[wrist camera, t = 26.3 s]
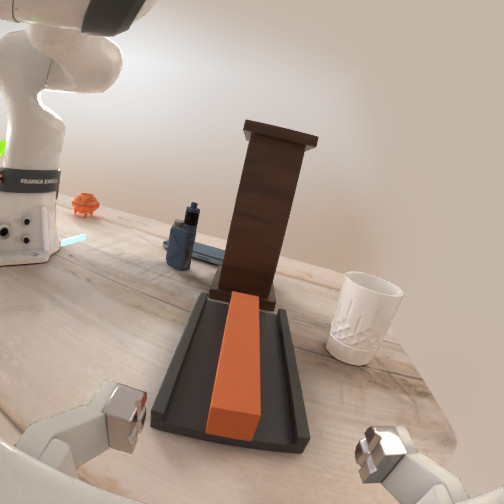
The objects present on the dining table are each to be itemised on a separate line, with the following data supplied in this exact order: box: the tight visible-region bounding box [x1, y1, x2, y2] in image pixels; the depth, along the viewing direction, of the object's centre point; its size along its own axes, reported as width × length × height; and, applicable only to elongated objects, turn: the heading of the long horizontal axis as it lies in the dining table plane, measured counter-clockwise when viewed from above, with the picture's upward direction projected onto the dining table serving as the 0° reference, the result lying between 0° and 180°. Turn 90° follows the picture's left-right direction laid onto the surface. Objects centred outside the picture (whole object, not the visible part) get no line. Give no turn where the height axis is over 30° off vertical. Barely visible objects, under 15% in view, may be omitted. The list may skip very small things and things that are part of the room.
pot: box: [72, 193, 99, 218], centre depth 75 cm, size 8×8×7 cm
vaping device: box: [166, 202, 200, 270], centre depth 55 cm, size 3×5×12 cm, turn 58°
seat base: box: [150, 292, 310, 453], centre depth 32 cm, size 24×12×2 cm, turn 179°
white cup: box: [326, 272, 404, 366], centre depth 38 cm, size 8×8×10 cm
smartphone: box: [163, 240, 225, 266], centre depth 66 cm, size 8×2×15 cm
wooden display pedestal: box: [208, 120, 318, 311], centre depth 49 cm, size 14×10×26 cm
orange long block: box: [205, 291, 261, 441], centre depth 31 cm, size 22×4×3 cm, turn 179°
